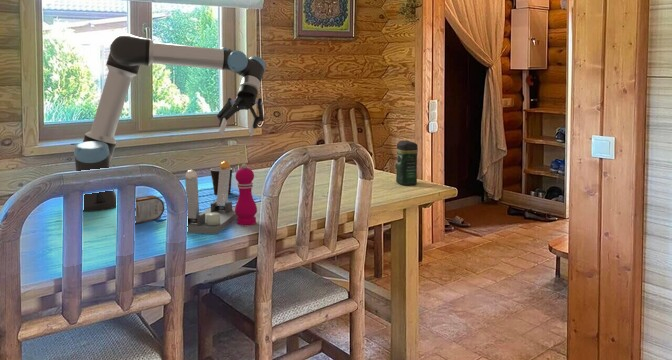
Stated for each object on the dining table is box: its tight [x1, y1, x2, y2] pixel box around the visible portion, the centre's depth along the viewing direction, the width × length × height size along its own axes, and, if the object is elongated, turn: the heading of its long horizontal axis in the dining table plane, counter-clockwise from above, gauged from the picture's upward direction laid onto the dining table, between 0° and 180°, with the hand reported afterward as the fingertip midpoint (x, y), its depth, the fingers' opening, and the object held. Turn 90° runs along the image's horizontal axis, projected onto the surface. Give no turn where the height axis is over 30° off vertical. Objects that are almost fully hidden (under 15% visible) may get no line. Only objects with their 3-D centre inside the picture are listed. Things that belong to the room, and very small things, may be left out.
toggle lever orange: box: [216, 160, 231, 211], centre depth 209 cm, size 4×4×17 cm
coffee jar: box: [395, 140, 419, 186], centre depth 259 cm, size 10×8×19 cm
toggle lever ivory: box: [184, 169, 200, 223], centre depth 191 cm, size 4×4×17 cm
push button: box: [206, 213, 220, 225], centre depth 191 cm, size 4×4×3 cm
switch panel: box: [187, 200, 238, 235], centre depth 201 cm, size 12×26×5 cm, turn 170°
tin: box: [135, 195, 165, 224], centre depth 202 cm, size 15×3×8 cm, turn 133°
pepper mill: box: [235, 163, 258, 226], centre depth 198 cm, size 7×7×20 cm
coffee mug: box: [210, 166, 233, 196], centre depth 244 cm, size 12×9×10 cm
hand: (235, 134), depth 228 cm, fingers open, 11 cm apart
